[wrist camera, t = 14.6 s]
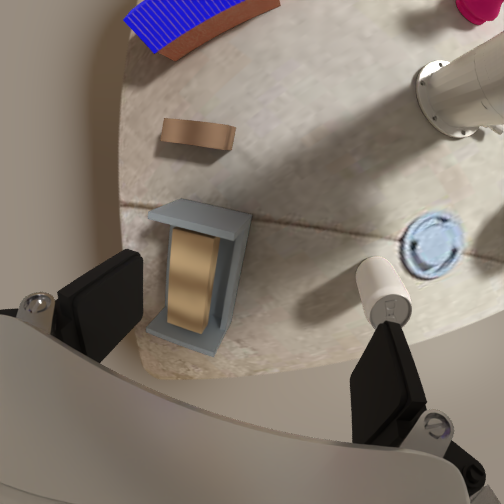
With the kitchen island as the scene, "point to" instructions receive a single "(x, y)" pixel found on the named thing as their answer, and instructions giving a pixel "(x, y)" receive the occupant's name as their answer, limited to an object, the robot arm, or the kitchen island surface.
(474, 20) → the pepper mill
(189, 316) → the board
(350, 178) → the kitchen island surface
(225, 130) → the block
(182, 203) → the bed
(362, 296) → the can
